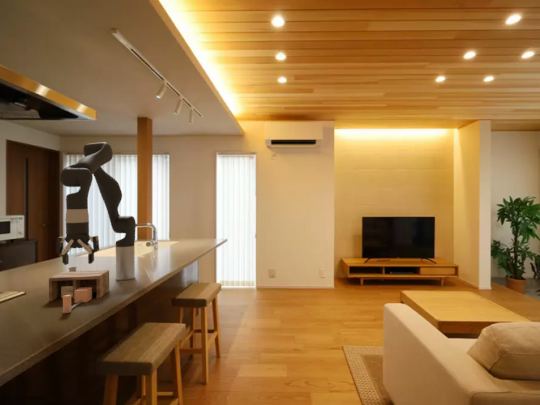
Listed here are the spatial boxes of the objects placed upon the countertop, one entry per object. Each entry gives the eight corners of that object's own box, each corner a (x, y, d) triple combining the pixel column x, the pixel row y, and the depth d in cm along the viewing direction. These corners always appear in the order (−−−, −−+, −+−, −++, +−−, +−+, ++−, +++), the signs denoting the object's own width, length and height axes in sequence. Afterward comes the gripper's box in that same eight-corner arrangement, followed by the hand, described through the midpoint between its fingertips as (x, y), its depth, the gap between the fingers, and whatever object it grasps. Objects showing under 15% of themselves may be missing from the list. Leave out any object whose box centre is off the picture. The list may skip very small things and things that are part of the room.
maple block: (66, 294, 144) (66, 283, 144) (78, 294, 145) (78, 283, 145) (61, 297, 139) (61, 286, 139) (73, 297, 140) (73, 286, 140)
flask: (73, 290, 150) (73, 269, 150) (60, 290, 152) (59, 268, 152) (85, 286, 157) (85, 266, 157) (72, 286, 159) (72, 265, 159)
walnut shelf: (62, 292, 146) (62, 272, 146) (109, 290, 149) (109, 270, 149) (49, 300, 135) (48, 278, 135) (99, 298, 138) (99, 276, 138)
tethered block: (79, 299, 136) (79, 284, 136) (92, 298, 137) (91, 284, 137) (58, 313, 118) (58, 297, 118) (72, 312, 119) (72, 296, 119)
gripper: (101, 220, 128) (102, 261, 128) (62, 220, 126) (62, 262, 126) (93, 221, 120) (94, 265, 121) (51, 222, 118) (52, 266, 119)
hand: (78, 263), depth 123 cm, fingers open, 8 cm apart
